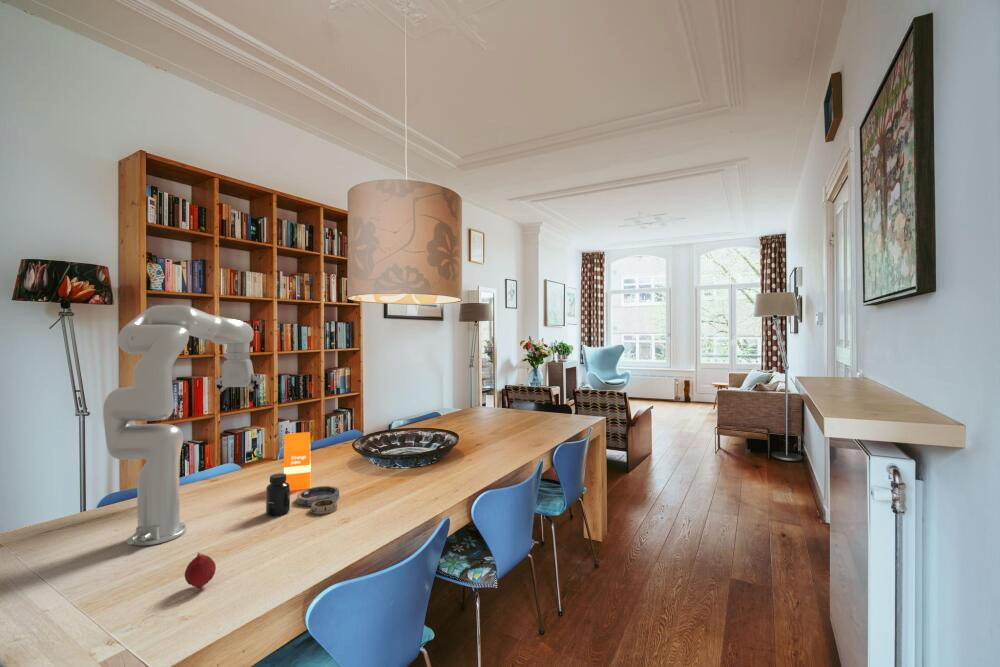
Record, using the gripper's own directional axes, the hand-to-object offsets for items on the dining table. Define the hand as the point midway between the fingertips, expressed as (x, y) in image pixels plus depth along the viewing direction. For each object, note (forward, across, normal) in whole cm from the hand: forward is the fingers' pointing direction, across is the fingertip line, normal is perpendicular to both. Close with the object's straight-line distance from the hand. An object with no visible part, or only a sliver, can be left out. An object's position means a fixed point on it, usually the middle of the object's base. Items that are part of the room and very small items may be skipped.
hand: (238, 401), depth 172 cm
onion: (+31, +27, -73) cm, 84 cm away
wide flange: (+31, +36, -20) cm, 52 cm away
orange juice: (+31, +24, -6) cm, 40 cm away
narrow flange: (+31, +41, -30) cm, 60 cm away
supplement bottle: (+31, +27, -31) cm, 52 cm away
